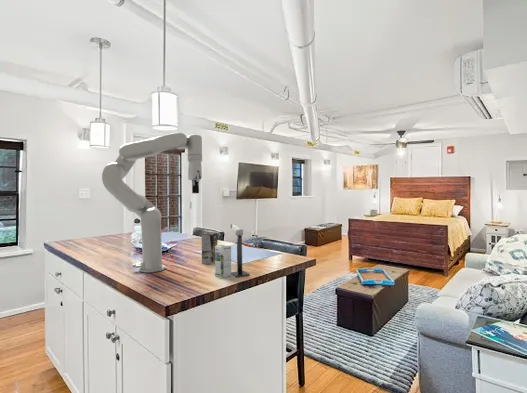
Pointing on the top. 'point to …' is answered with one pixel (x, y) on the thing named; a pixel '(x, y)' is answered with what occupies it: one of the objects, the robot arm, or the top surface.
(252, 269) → the top surface
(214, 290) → the top surface
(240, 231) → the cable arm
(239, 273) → the stand
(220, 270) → the syrup box
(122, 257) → the top surface
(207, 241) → the coffee box
